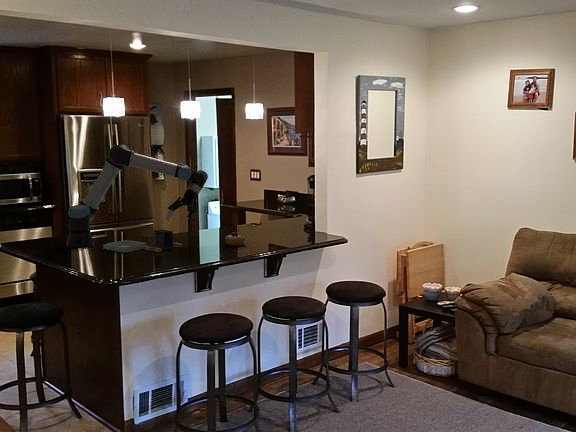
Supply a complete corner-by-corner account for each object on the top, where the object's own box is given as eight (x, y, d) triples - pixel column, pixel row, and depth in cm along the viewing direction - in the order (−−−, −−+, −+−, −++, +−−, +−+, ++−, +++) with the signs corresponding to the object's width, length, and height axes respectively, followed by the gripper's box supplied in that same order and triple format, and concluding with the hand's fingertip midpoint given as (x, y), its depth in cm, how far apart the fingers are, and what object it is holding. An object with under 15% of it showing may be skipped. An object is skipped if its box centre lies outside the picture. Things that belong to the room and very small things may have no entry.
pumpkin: (220, 245, 371) (220, 230, 370) (235, 242, 379) (235, 227, 378) (234, 247, 363) (234, 232, 361) (249, 245, 371) (249, 230, 370)
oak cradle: (144, 249, 354) (144, 246, 353) (166, 244, 369) (166, 241, 369) (160, 252, 347) (160, 248, 347) (182, 247, 363) (182, 243, 362)
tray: (103, 249, 354) (103, 244, 353) (125, 245, 368) (125, 240, 367) (124, 252, 345) (124, 247, 344) (146, 248, 359) (146, 242, 358)
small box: (173, 249, 357) (173, 230, 356) (164, 250, 352) (164, 232, 351) (162, 246, 364) (162, 228, 363) (153, 248, 359) (152, 230, 358)
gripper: (211, 198, 372) (195, 226, 361) (179, 195, 385) (162, 222, 374) (205, 189, 366) (189, 218, 356) (173, 187, 379) (156, 214, 369)
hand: (175, 220), depth 365 cm, fingers open, 13 cm apart
